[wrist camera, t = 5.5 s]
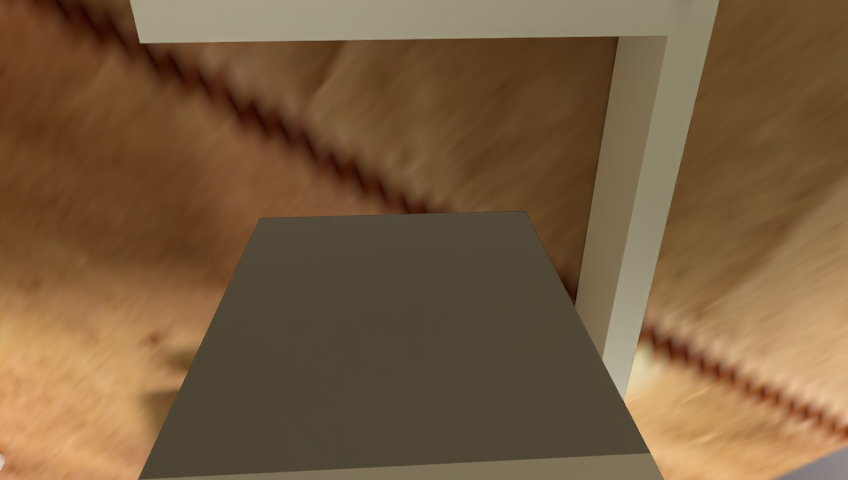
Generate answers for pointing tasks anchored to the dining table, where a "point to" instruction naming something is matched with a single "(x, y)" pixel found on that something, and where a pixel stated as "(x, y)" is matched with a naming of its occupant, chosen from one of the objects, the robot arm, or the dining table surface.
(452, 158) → the dining table surface
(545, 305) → the gray block
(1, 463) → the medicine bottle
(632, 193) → the bay
